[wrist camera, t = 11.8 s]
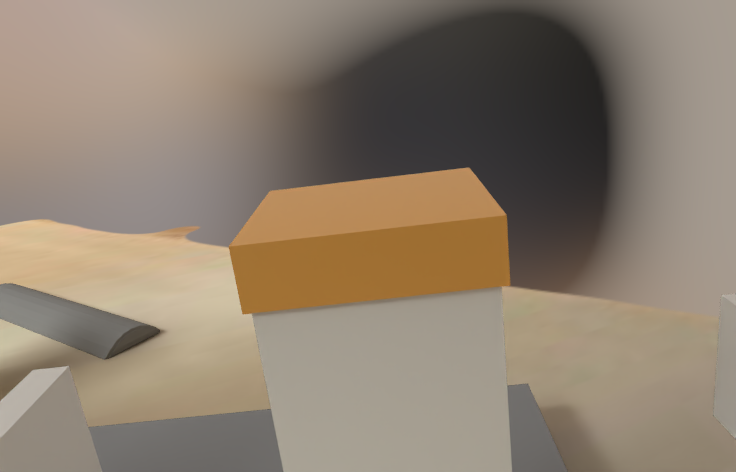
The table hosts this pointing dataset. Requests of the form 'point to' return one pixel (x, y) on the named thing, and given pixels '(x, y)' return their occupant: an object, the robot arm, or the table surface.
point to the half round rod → (71, 321)
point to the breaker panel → (260, 447)
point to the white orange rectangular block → (381, 323)
